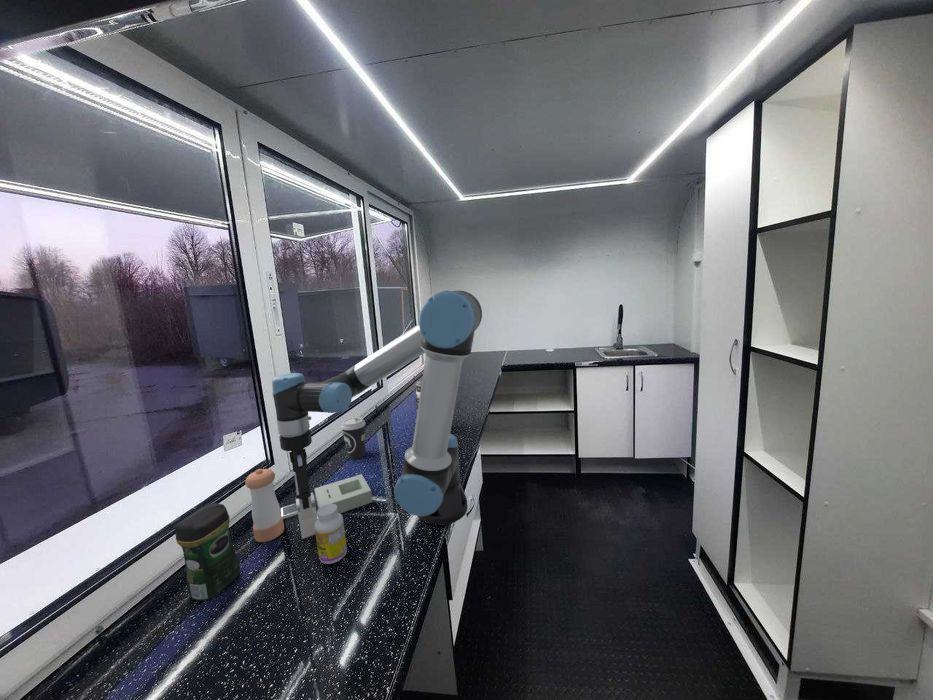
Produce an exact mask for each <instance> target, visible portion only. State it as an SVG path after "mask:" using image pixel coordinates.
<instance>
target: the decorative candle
mask: <svg viewBox="0 0 933 700" xmlns="http://www.w3.org/2000/svg"><path fill="white" fill-rule="evenodd" d="M422 379H423V378H422ZM422 379H418V380H417V381H416V383H415V384H414V385H415V388H416V390H415V391H416V393H415V395H414V397H415V399H414V400H415V402H416V403H415V406H416V411H418V405H419V399H420V392H421V385H422Z"/></svg>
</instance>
